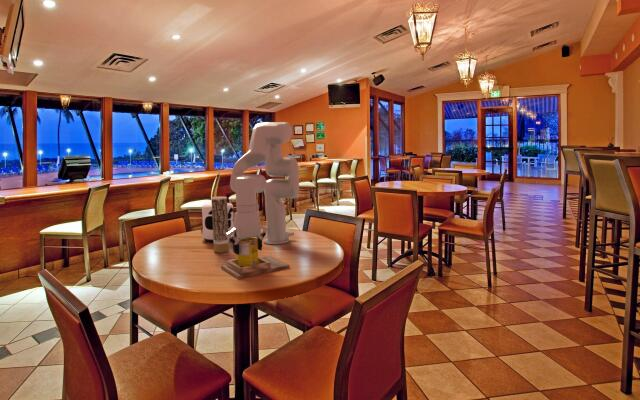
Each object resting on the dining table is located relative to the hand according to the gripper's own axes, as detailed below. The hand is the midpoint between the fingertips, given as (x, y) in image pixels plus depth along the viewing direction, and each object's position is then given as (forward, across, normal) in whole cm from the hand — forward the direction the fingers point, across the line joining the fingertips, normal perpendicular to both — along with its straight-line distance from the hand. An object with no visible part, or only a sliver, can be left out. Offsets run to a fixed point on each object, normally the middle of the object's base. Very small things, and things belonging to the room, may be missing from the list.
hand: (248, 251), depth 155 cm
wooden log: (+8, -2, -32) cm, 33 cm away
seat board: (+7, -3, 0) cm, 8 cm away
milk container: (+8, -10, -55) cm, 56 cm away
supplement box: (+6, 0, 0) cm, 6 cm away
